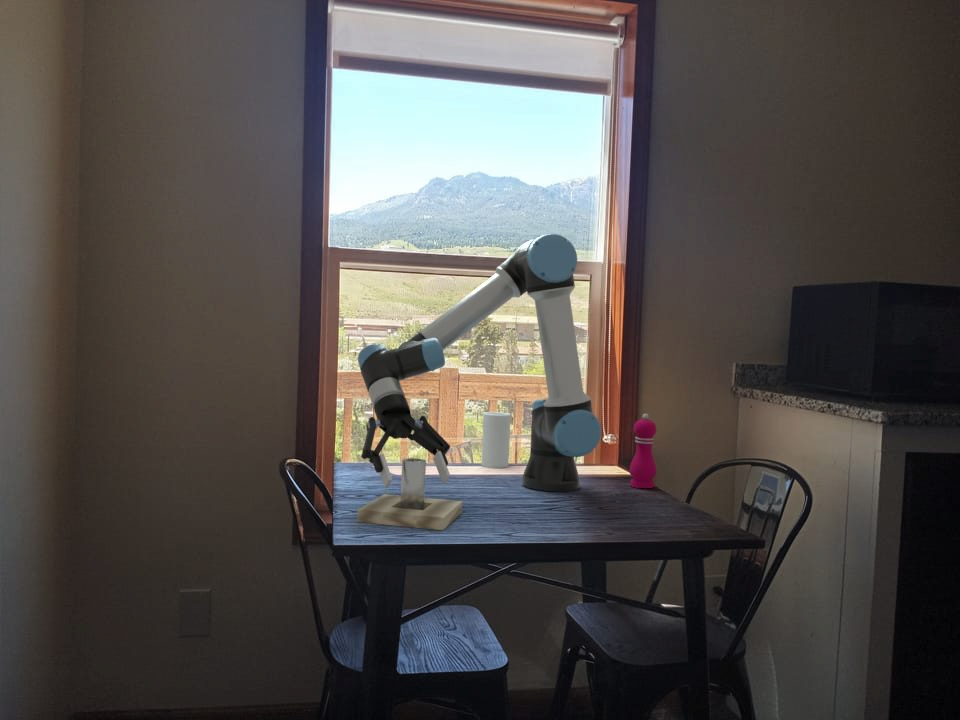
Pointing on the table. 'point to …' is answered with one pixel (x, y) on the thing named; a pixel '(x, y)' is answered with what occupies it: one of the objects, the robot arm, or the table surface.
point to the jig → (410, 513)
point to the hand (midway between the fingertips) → (418, 481)
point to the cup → (496, 439)
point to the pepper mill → (643, 454)
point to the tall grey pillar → (413, 483)
